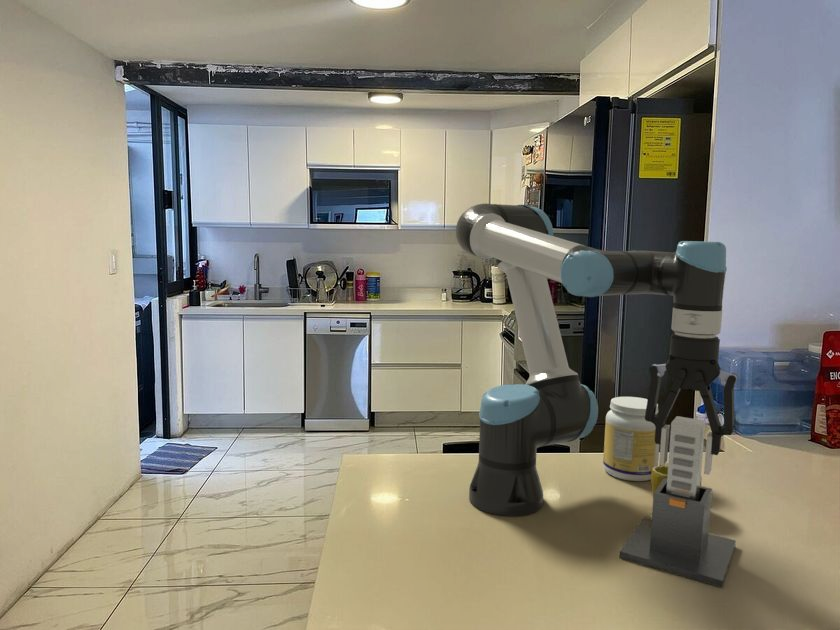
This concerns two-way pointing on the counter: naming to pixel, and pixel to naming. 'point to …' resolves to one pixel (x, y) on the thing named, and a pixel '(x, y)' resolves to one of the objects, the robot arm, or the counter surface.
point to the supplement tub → (629, 440)
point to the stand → (680, 539)
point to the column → (685, 458)
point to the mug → (659, 476)
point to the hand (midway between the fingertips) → (685, 467)
